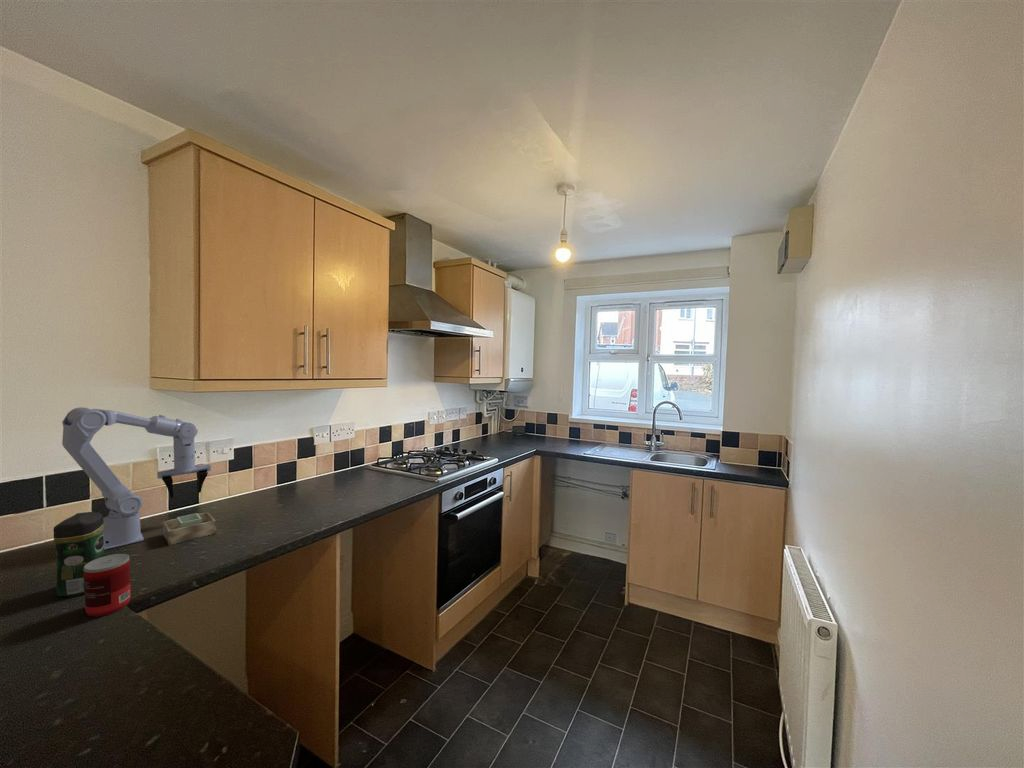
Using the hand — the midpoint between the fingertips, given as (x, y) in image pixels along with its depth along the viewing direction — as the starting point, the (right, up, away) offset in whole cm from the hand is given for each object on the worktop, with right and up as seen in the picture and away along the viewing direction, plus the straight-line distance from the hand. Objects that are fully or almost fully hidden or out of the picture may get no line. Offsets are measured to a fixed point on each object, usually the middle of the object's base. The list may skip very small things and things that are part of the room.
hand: (185, 494), depth 144 cm
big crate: (+8, -11, -8) cm, 16 cm away
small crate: (+8, -10, -8) cm, 16 cm away
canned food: (+20, -14, -48) cm, 54 cm away
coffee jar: (+6, -13, -40) cm, 43 cm away
